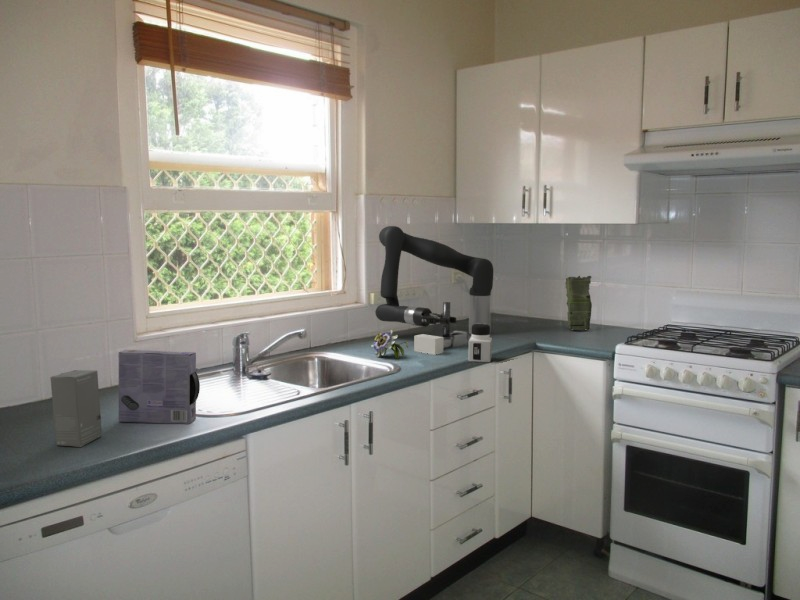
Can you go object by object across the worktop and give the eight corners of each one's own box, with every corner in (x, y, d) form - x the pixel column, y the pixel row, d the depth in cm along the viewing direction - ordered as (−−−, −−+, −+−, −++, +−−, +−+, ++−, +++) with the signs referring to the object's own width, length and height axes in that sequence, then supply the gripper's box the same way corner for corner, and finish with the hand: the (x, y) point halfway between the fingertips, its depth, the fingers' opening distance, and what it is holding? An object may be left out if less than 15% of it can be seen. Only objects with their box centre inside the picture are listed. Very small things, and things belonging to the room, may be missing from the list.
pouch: (562, 330, 301) (565, 276, 298) (567, 327, 312) (569, 273, 309) (588, 332, 297) (590, 277, 294) (591, 328, 308) (593, 274, 305)
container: (490, 362, 235) (491, 326, 233) (468, 361, 236) (468, 325, 235) (491, 358, 242) (492, 322, 241) (470, 357, 244) (471, 322, 242)
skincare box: (80, 448, 146) (77, 377, 144) (51, 446, 147) (47, 376, 145) (104, 435, 154) (101, 369, 152) (76, 433, 156) (73, 367, 154)
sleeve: (457, 343, 270) (457, 330, 270) (467, 344, 267) (467, 331, 266) (443, 346, 264) (443, 333, 263) (454, 348, 260) (454, 334, 260)
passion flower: (379, 372, 243) (363, 344, 245) (400, 362, 250) (384, 335, 252) (394, 359, 235) (377, 330, 237) (415, 349, 242) (399, 321, 244)
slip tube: (457, 341, 269) (457, 299, 267) (464, 342, 267) (464, 300, 264) (433, 347, 257) (434, 303, 255) (440, 348, 255) (441, 304, 253)
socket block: (422, 349, 257) (422, 334, 257) (443, 352, 251) (443, 337, 250) (414, 351, 254) (414, 335, 253) (435, 354, 247) (435, 339, 246)
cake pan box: (201, 418, 168) (199, 349, 166) (194, 424, 163) (192, 354, 161) (126, 417, 169) (123, 348, 167) (117, 423, 164) (114, 352, 162)
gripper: (406, 308, 262) (441, 313, 251) (428, 305, 273) (463, 309, 262) (406, 327, 263) (441, 332, 252) (428, 323, 274) (462, 328, 263)
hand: (452, 320), depth 257 cm, fingers open, 4 cm apart
